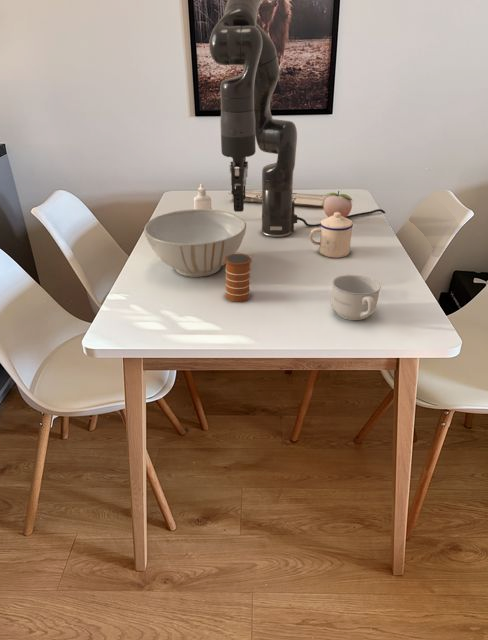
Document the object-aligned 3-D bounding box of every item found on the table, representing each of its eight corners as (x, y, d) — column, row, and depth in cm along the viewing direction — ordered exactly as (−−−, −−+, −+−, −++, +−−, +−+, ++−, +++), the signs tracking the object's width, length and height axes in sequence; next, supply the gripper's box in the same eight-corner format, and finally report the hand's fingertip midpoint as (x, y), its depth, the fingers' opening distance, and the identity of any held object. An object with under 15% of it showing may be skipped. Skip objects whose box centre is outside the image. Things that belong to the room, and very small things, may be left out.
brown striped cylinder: (249, 302, 136) (223, 301, 136) (251, 291, 141) (225, 290, 141) (250, 264, 130) (223, 263, 131) (252, 253, 136) (225, 252, 136)
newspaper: (329, 199, 204) (329, 190, 202) (325, 210, 194) (325, 200, 192) (235, 194, 211) (235, 184, 209) (226, 204, 201) (226, 194, 199)
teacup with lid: (347, 246, 166) (350, 207, 160) (352, 258, 158) (356, 218, 152) (306, 246, 166) (308, 208, 159) (310, 259, 158) (312, 219, 152)
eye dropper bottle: (209, 222, 184) (208, 186, 178) (193, 221, 185) (191, 185, 179) (213, 218, 188) (211, 182, 181) (197, 217, 189) (195, 181, 182)
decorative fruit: (319, 224, 182) (321, 193, 177) (324, 216, 189) (326, 186, 183) (348, 226, 180) (351, 196, 174) (352, 218, 186) (355, 188, 181)
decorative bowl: (209, 298, 138) (207, 252, 132) (128, 274, 150) (122, 231, 144) (264, 260, 157) (264, 218, 151) (188, 242, 169) (185, 203, 163)
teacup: (325, 304, 135) (327, 273, 130) (369, 302, 135) (373, 271, 131) (338, 333, 123) (341, 301, 119) (386, 331, 124) (391, 298, 119)
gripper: (254, 139, 115) (254, 215, 124) (256, 125, 127) (256, 195, 136) (217, 139, 115) (221, 215, 124) (223, 125, 127) (226, 195, 136)
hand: (239, 205), depth 130 cm, fingers open, 8 cm apart
